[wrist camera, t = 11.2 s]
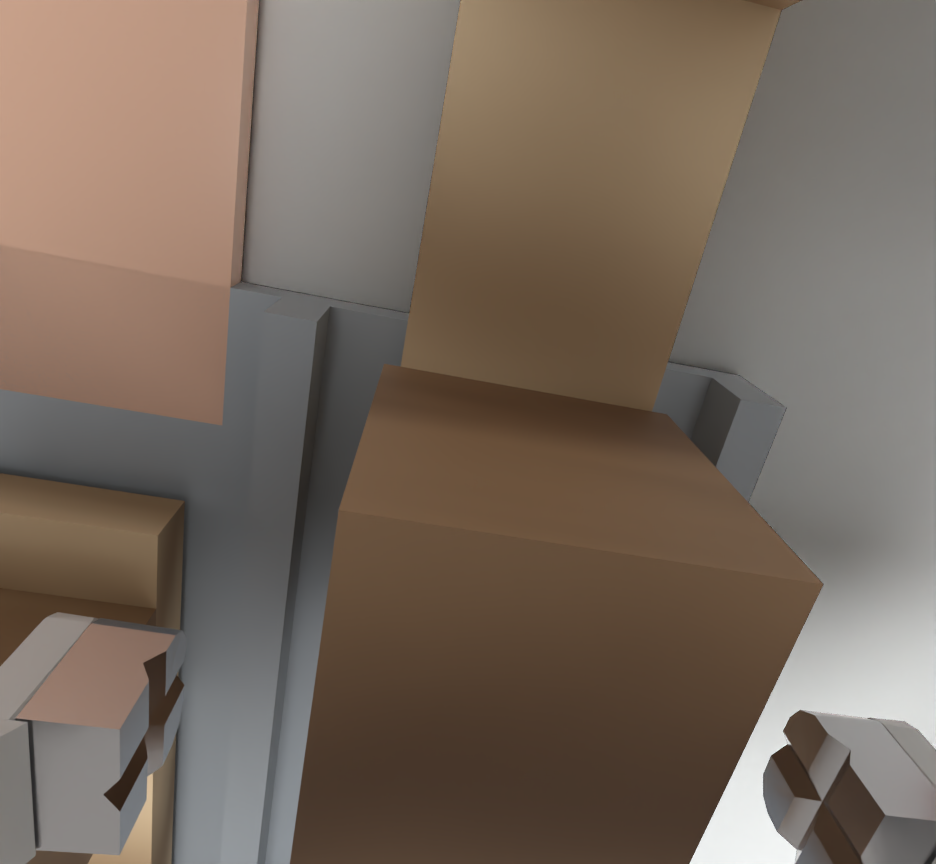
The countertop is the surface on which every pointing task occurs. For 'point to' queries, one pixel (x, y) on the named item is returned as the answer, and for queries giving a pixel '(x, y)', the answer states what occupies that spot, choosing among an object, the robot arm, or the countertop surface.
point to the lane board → (281, 530)
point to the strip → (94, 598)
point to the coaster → (123, 197)
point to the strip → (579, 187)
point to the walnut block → (536, 634)
